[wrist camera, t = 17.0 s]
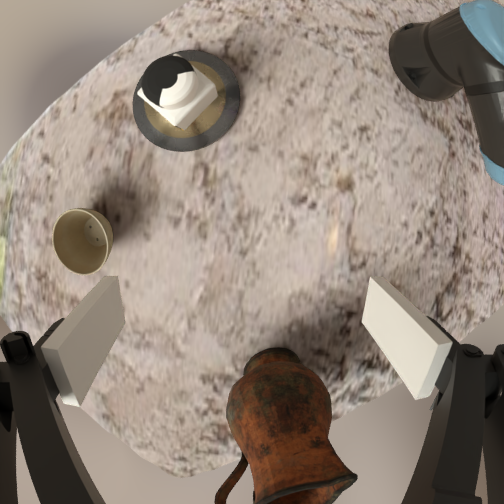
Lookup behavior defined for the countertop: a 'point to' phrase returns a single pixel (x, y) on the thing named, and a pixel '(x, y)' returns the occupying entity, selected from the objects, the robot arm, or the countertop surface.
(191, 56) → the plate
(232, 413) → the pitcher
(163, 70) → the medicine bottle
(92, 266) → the flower pot
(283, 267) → the countertop surface
